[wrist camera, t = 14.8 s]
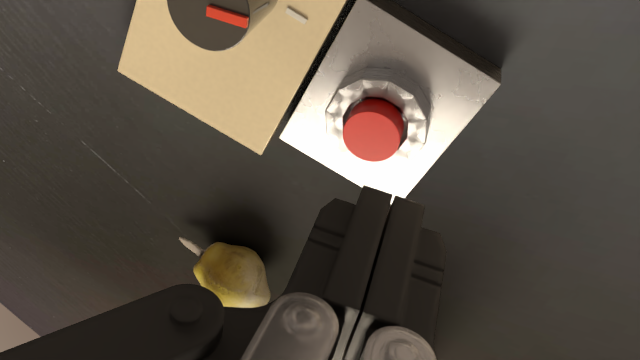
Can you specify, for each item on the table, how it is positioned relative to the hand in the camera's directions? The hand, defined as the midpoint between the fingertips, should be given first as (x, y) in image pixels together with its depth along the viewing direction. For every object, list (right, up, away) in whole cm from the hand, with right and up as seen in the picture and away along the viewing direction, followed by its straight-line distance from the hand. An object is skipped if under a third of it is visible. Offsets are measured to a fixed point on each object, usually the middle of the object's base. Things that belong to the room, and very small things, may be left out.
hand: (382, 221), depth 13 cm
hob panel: (-7, +12, +24) cm, 28 cm away
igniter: (+3, +7, +25) cm, 26 cm away
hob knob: (-6, +13, +20) cm, 25 cm away
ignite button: (+2, +5, +22) cm, 23 cm away
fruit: (-10, -6, +38) cm, 40 cm away
